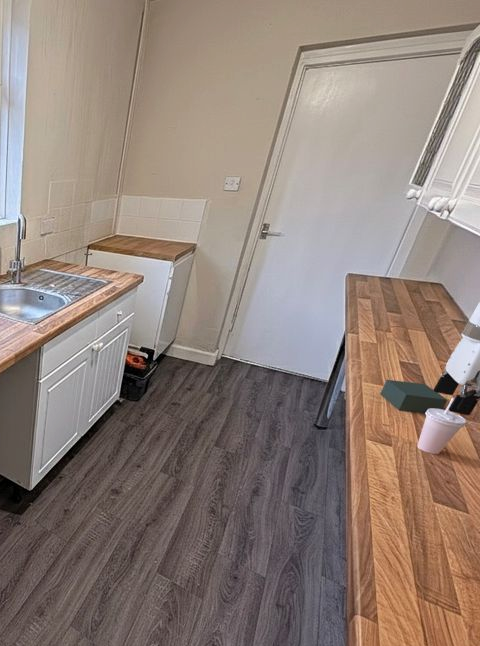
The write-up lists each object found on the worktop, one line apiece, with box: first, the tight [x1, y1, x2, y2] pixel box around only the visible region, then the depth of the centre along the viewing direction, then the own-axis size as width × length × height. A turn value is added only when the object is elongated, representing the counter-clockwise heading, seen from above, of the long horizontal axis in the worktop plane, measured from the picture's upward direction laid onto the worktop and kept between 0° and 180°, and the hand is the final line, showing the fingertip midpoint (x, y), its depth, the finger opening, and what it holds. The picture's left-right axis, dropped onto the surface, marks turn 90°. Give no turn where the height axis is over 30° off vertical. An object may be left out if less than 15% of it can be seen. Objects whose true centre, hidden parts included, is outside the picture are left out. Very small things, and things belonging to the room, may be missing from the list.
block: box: [379, 379, 448, 414], centre depth 117 cm, size 9×9×5 cm
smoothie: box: [416, 397, 467, 455], centre depth 96 cm, size 6×6×14 cm
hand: (450, 402), depth 94 cm, fingers open, 9 cm apart
